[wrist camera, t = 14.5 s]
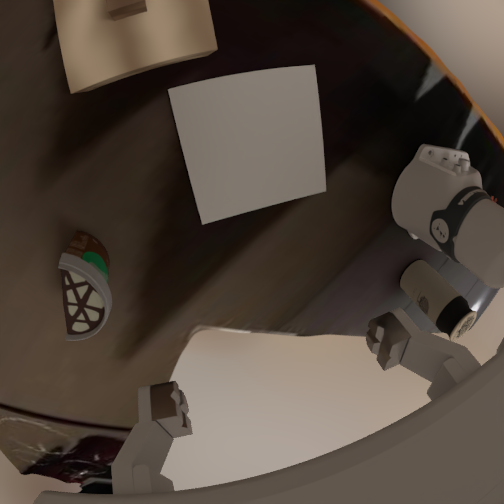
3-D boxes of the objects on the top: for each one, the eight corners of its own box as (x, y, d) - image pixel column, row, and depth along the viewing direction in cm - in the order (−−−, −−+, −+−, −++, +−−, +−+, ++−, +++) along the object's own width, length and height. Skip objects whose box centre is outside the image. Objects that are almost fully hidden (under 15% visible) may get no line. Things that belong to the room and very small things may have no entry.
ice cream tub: (115, 298, 42) (110, 348, 34) (77, 293, 40) (66, 342, 32) (121, 226, 37) (112, 270, 29) (77, 220, 34) (57, 263, 26)
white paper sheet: (312, 64, 32) (314, 64, 31) (324, 189, 42) (326, 191, 42) (167, 89, 29) (167, 89, 29) (201, 222, 40) (202, 224, 39)
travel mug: (429, 256, 58) (483, 306, 44) (419, 284, 63) (466, 334, 48) (404, 262, 56) (461, 318, 42) (395, 292, 61) (443, 348, 46)
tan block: (187, -42, 20) (200, -85, 11) (206, 55, 28) (226, 44, 19) (70, -8, 18) (37, -36, 9) (88, 91, 26) (57, 96, 17)
